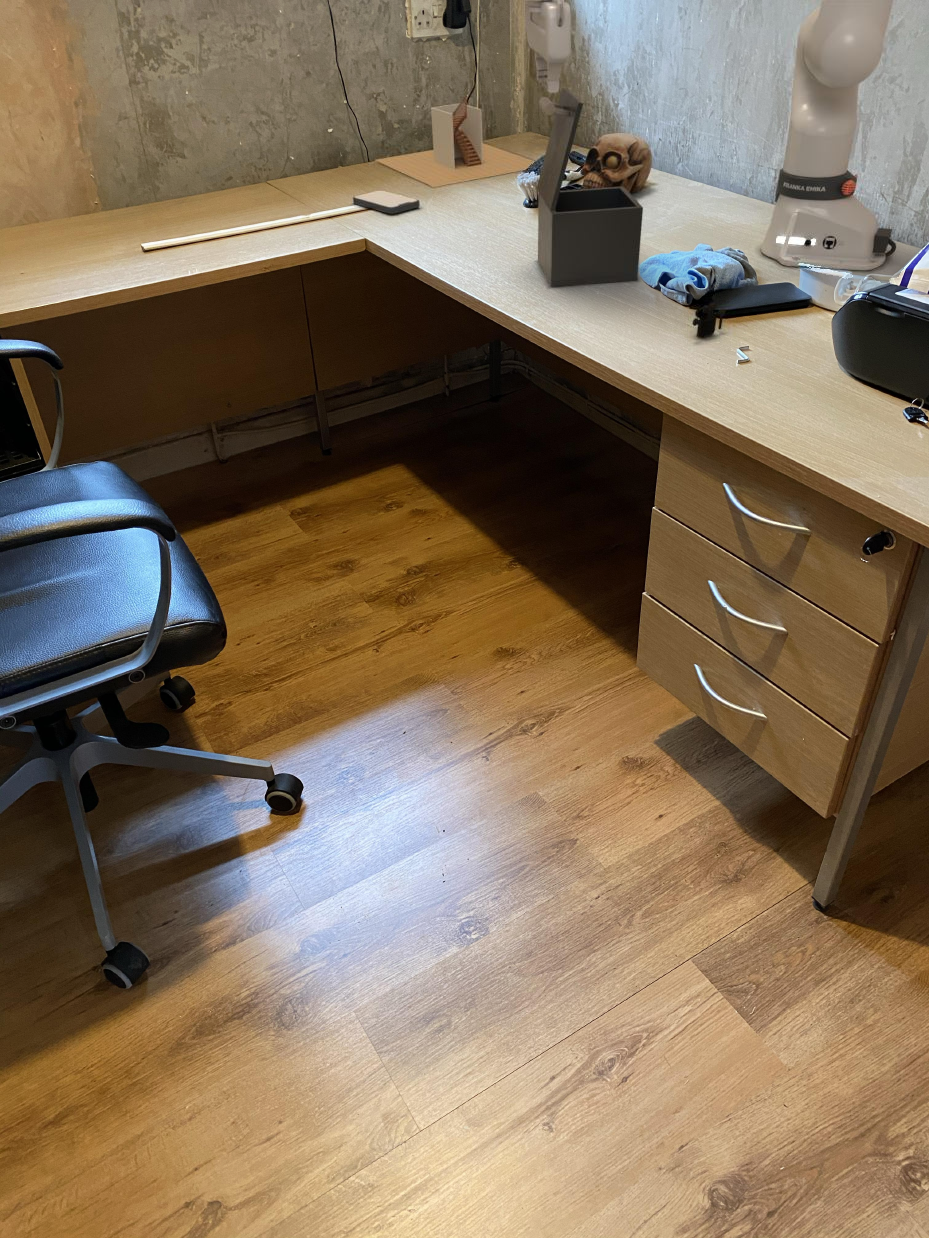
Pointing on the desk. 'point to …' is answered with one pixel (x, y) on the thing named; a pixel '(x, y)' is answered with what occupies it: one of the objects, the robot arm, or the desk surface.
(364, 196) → the phone case
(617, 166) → the brown skull
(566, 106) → the bin lid
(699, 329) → the black knobbed bracket
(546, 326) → the desk surface
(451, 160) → the staircase
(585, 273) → the waste bin
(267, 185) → the desk surface
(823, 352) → the desk surface
